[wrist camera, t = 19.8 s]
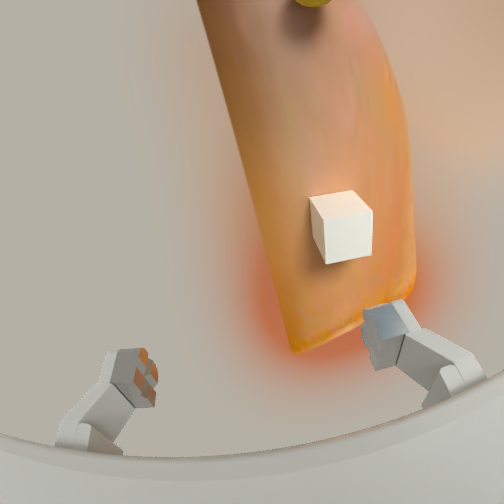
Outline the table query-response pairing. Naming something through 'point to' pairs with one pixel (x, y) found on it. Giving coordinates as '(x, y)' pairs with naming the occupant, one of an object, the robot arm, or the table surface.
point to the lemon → (312, 2)
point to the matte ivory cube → (341, 226)
